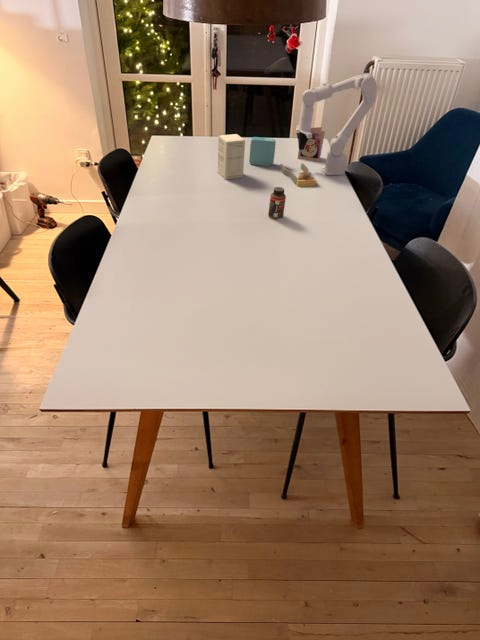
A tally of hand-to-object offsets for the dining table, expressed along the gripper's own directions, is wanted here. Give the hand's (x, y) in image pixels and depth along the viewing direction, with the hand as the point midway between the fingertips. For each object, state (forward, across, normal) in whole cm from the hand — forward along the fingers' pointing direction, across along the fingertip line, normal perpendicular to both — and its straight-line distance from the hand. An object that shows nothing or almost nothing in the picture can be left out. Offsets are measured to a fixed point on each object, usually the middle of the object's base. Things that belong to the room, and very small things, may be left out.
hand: (301, 149), depth 209 cm
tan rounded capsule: (+10, +17, -4) cm, 20 cm away
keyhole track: (+9, +11, -4) cm, 15 cm away
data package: (+10, -8, -17) cm, 21 cm away
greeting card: (+10, -14, +11) cm, 20 cm away
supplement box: (+10, +4, -36) cm, 37 cm away
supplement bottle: (+10, +48, -29) cm, 57 cm away
